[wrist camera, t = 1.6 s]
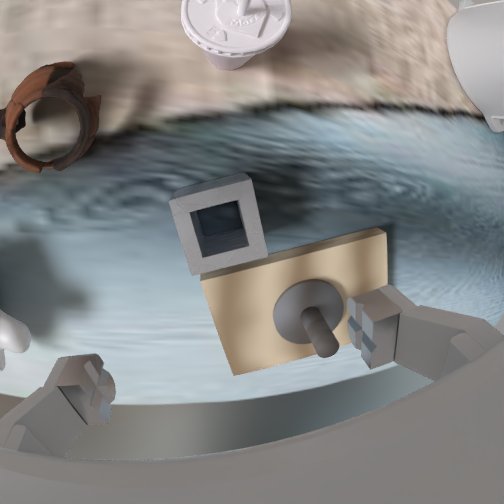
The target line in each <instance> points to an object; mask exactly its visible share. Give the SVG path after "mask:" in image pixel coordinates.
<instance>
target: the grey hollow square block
mask: <svg viewBox="0 0 504 504" xmlns="http://www.w3.org/2000/svg"><path fill="white" fill-rule="evenodd" d="M235 200H236V201H237V205H238V209H239V213H240V218H241V222H242V226H243V227H242V228H238V229H234V230H230V231H226V232H222V233H218V234H214V235H210V236H207V237H204V236H203V232H202V229H201V225H200V221H199V218H198V214H197V211H196V210H200V209H203V208H207V207H211V206H215V205H219V204H223V203H227V202H231V201H235ZM169 204H170V207H171V211H172V214H173V217H174V221H175V224H176V227H177V231H178V234H179V237H180V241H181V244H182V247H183V250H184V253H185V256H186V259H187V263H188V266H189V269H190V272H191V275H192V276H194V275H198V274H202V273H206V272H210V271H214V270H218V269H221V268H225V267H229V266H233V265H237V264H241V263H245V262H249V261H253V260H257V259H261V258H265V257H268V253H267V248H266V243H265V239H264V234H263V229H262V225H261V220H260V216H259V211H258V207H257V202H256V198H255V193H254V189H253V184H252V180H251V178H250V177H249V176H247V175H246V174H245V173H244V172H243V173H239V174H234V175H230V176H226V177H222V178H218V179H214V180H210V181H207V182H203V183H199V184H195V185H191V186H188V187H184V188H181V189H177V190H176V191H175V192H174V194H173V195H172V197H171V198H170V200H169Z"/></svg>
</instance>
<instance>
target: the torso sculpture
mask: <svg viewBox="0 0 504 504" xmlns="http://www.w3.org/2000/svg"><path fill="white" fill-rule="evenodd" d="M30 342H31V334H30V330H29V328H28V327H27V326H26V325H25V324H24V323H23V322H21V321H19V320H17V319H15V318H13V317H11V316H9V315H7V314H6V313H4V312H3V311H2V310H0V371H2V370H3V369H4V368H5V355H4V349H7V350H10V351H12V352H15V353H23V352H25V351H26V350H27V349H28V348H29V346H30Z"/></svg>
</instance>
